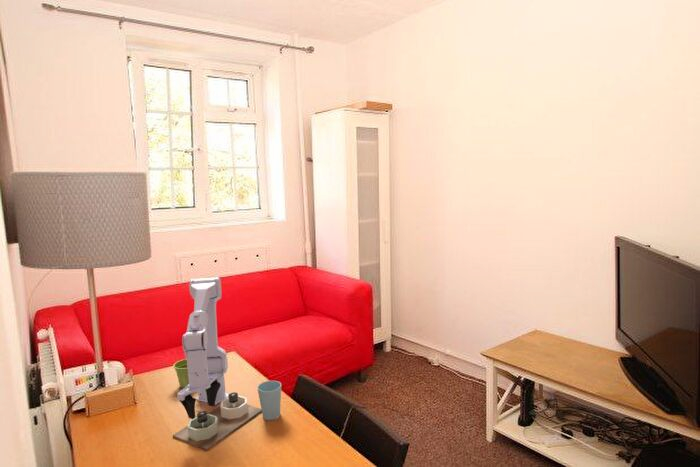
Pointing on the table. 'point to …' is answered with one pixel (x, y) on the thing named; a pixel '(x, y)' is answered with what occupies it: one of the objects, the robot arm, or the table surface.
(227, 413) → the housing
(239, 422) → the board
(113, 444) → the table surface
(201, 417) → the plunger
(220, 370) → the robot arm
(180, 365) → the plant pot
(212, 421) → the housing
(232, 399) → the plunger
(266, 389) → the cup
